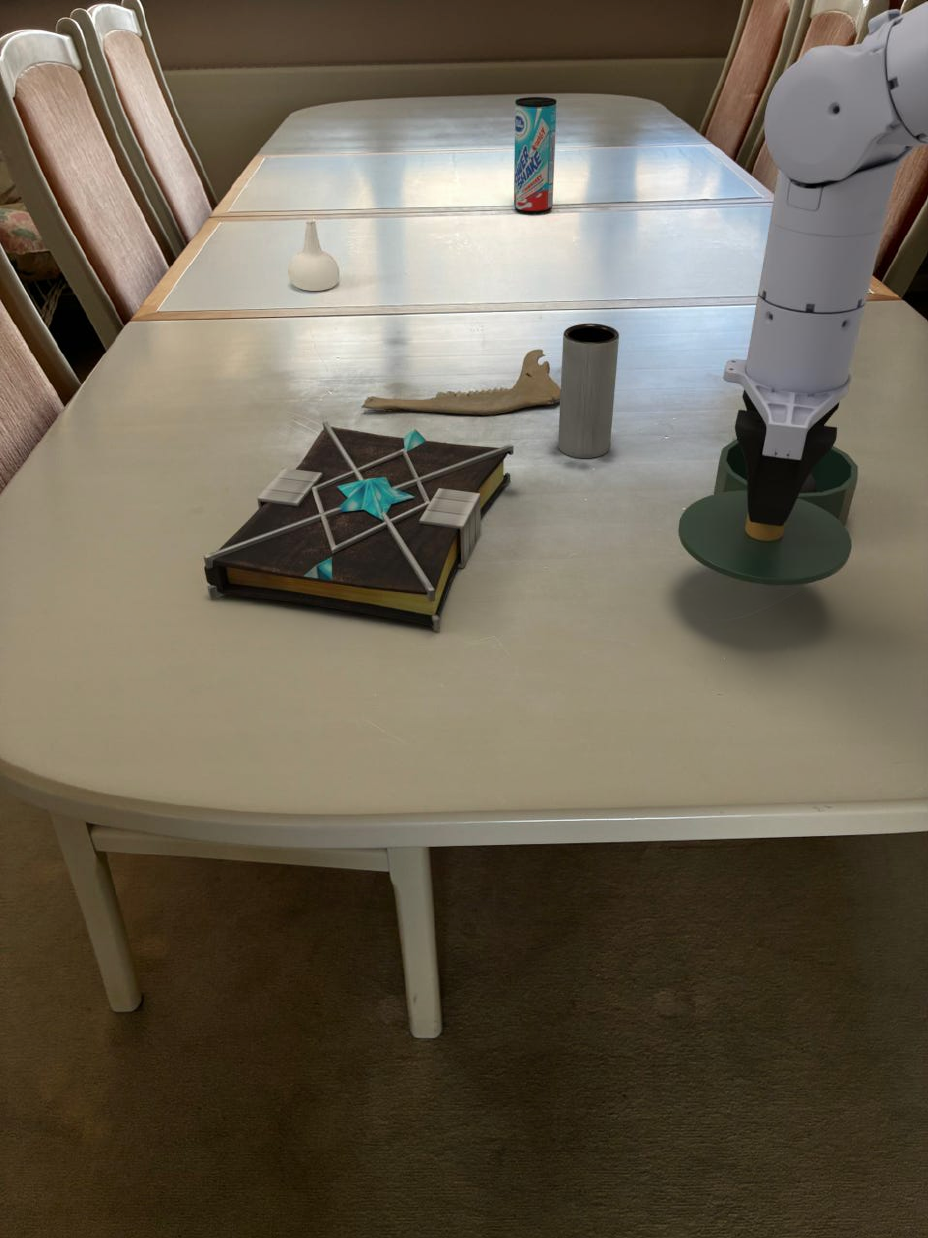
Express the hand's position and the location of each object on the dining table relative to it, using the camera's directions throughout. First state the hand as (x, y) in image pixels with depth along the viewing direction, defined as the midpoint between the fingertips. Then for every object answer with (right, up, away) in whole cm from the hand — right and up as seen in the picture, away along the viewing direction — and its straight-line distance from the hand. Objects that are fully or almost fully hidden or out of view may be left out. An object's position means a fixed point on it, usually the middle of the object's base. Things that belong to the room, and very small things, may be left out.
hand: (768, 509), depth 61 cm
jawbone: (-20, +15, +33) cm, 41 cm away
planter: (-9, +8, +24) cm, 26 cm away
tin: (+5, +1, +14) cm, 15 cm away
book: (-26, -1, +12) cm, 29 cm away
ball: (+6, +3, +13) cm, 14 cm away
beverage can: (-9, +55, +86) cm, 102 cm away
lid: (0, -2, +1) cm, 2 cm away
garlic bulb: (-38, +35, +59) cm, 79 cm away
